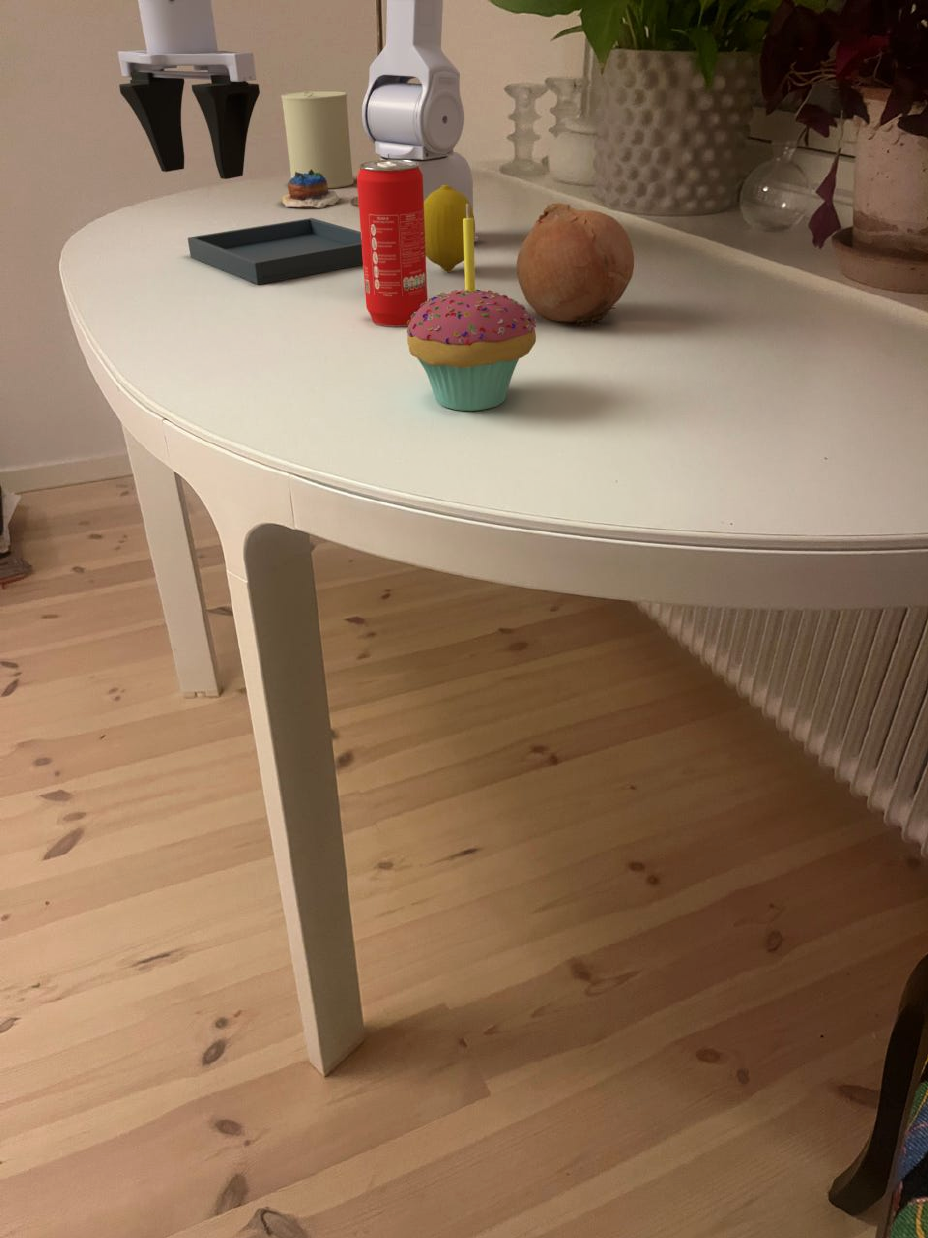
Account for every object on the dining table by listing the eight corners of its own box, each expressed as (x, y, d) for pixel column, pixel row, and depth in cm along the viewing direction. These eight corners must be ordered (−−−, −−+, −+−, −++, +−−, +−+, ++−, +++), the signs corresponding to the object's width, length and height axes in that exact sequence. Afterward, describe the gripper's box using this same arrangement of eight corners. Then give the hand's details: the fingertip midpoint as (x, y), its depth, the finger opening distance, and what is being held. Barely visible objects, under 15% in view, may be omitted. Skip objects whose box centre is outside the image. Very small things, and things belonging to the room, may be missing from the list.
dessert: (290, 190, 129) (309, 152, 126) (330, 220, 131) (351, 183, 127) (269, 206, 123) (289, 166, 120) (312, 237, 125) (333, 199, 121)
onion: (528, 351, 82) (483, 237, 79) (620, 307, 84) (580, 194, 81) (569, 341, 73) (520, 212, 70) (671, 293, 75) (627, 165, 72)
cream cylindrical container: (282, 188, 135) (271, 93, 129) (301, 178, 143) (292, 87, 136) (344, 189, 134) (336, 92, 127) (360, 178, 141) (354, 87, 135)
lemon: (469, 279, 91) (468, 189, 86) (414, 278, 92) (410, 188, 87) (480, 265, 95) (479, 179, 91) (427, 264, 96) (424, 178, 92)
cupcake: (408, 380, 68) (398, 199, 61) (525, 374, 68) (529, 195, 61) (412, 426, 60) (402, 226, 54) (544, 419, 61) (550, 221, 54)
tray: (313, 236, 108) (312, 217, 107) (388, 259, 98) (387, 239, 97) (190, 257, 101) (187, 237, 100) (257, 284, 91) (254, 263, 90)
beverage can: (381, 331, 77) (371, 171, 71) (357, 315, 81) (345, 162, 75) (438, 321, 79) (433, 165, 73) (412, 307, 83) (405, 157, 77)
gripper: (74, -11, 76) (112, 173, 84) (195, -14, 69) (224, 187, 77) (144, -12, 81) (174, 162, 89) (264, -15, 74) (285, 174, 82)
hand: (201, 173), depth 83 cm, fingers open, 7 cm apart
